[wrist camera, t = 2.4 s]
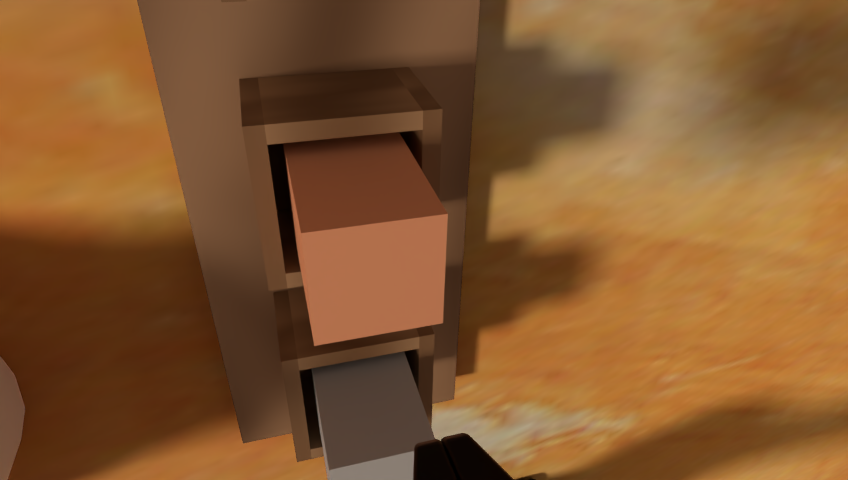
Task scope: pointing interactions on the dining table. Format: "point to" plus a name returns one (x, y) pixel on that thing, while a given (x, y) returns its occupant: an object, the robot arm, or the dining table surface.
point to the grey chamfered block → (370, 418)
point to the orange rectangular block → (366, 236)
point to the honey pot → (9, 419)
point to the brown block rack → (267, 178)
